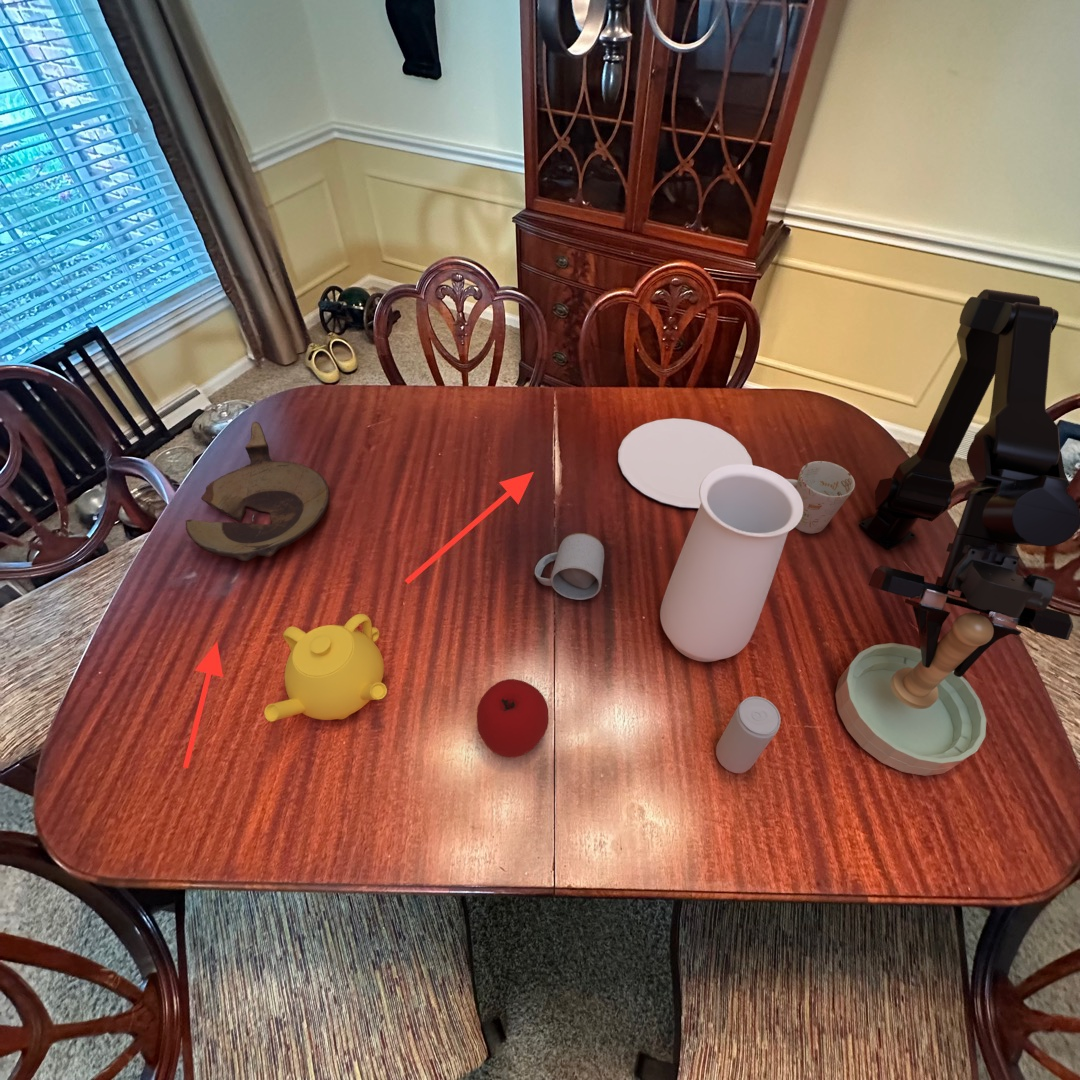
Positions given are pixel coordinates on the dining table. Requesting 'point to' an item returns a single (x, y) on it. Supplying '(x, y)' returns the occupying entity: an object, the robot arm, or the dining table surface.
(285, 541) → the oil lamp
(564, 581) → the ceramic mug
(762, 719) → the beverage can
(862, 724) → the bowl
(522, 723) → the apple
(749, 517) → the vase
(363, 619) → the teapot
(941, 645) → the wooden pestle
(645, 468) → the plate
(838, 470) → the mug
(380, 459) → the dining table surface
